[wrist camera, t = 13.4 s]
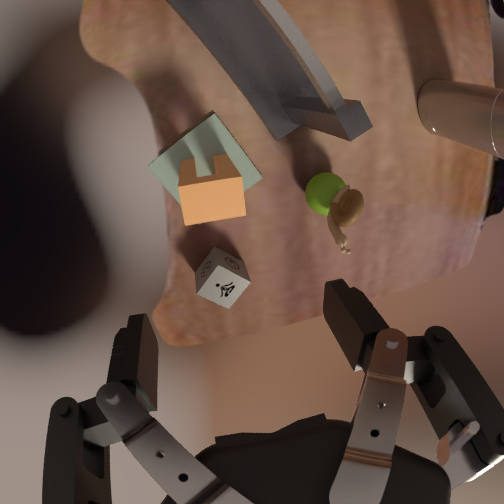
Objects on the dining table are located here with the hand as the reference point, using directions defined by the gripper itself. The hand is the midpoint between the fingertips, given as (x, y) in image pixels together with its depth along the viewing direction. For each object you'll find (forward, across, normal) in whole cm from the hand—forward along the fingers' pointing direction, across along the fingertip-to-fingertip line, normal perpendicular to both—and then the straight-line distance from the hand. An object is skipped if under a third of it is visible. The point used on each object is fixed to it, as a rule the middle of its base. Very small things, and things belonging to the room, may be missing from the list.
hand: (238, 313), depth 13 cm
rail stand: (+26, -6, -16) cm, 31 cm away
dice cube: (+26, 0, +14) cm, 29 cm away
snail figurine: (+26, -14, +4) cm, 30 cm away
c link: (+25, 0, 0) cm, 25 cm away
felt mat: (+26, 0, 0) cm, 26 cm away
